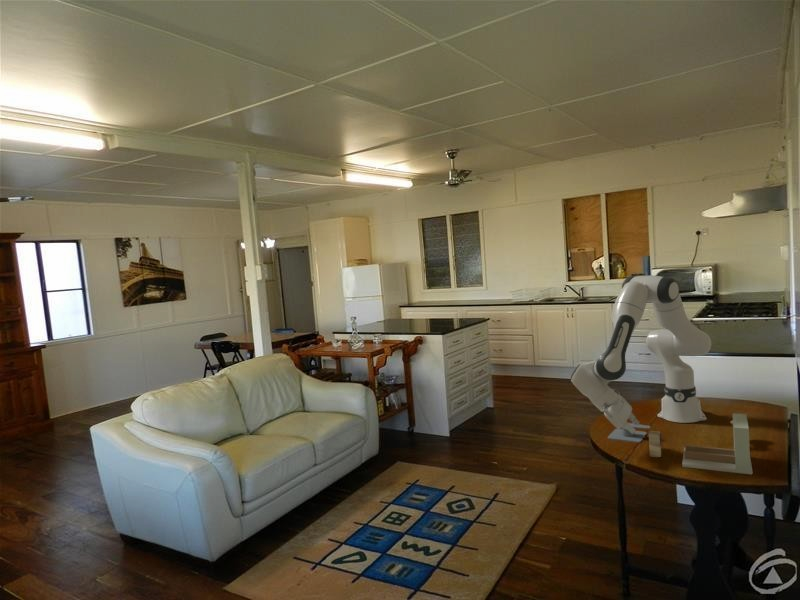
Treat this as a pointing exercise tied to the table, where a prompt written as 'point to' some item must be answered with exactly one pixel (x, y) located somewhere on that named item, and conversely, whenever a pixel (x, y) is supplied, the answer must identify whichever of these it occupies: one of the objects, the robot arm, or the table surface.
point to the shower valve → (629, 434)
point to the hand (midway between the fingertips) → (636, 428)
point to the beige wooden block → (655, 443)
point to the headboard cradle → (723, 452)
